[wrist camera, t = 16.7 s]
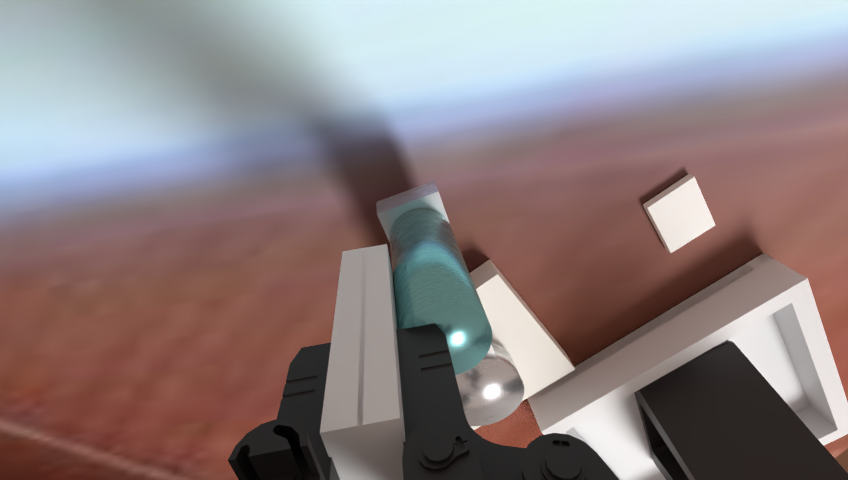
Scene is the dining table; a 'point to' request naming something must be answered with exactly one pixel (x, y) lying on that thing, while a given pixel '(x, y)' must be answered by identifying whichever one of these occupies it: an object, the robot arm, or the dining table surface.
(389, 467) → the robot arm
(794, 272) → the tray
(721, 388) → the phone stand
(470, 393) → the crank
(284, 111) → the dining table surface
